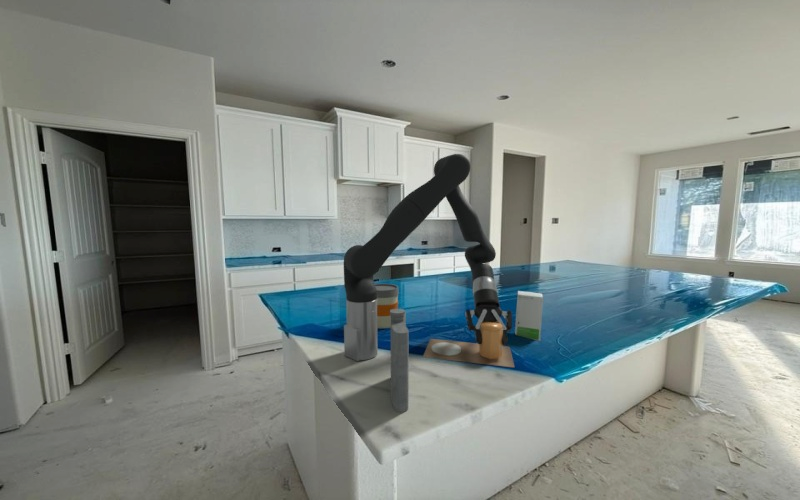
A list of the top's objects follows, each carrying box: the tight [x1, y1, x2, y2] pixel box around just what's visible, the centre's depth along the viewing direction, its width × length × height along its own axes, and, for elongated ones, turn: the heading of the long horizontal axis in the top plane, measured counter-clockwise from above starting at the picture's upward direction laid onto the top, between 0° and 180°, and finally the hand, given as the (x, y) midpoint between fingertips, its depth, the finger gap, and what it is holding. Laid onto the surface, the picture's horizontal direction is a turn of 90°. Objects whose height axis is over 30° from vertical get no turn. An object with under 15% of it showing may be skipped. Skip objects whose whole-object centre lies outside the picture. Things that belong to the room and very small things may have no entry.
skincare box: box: [514, 290, 544, 342], centre depth 106 cm, size 8×7×16 cm
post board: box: [422, 338, 515, 368], centre depth 91 cm, size 25×14×6 cm, turn 75°
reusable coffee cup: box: [374, 283, 400, 329], centre depth 119 cm, size 13×13×15 cm
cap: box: [479, 321, 503, 359], centre depth 89 cm, size 6×6×9 cm
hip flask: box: [390, 308, 410, 413], centre depth 72 cm, size 16×4×20 cm, turn 2°
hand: (492, 343), depth 88 cm, fingers closed on cap, 6 cm apart
